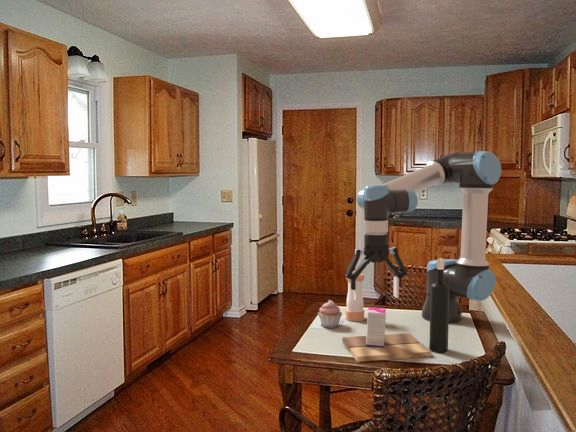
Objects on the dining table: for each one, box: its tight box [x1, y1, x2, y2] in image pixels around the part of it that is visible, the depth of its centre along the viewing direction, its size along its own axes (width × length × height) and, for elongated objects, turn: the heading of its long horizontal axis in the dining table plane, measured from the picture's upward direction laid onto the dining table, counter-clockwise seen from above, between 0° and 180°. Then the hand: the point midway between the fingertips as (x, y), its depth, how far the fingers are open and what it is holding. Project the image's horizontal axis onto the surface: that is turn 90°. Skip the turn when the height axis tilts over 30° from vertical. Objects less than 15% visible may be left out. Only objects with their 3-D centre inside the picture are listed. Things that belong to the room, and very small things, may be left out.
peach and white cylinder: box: [345, 269, 365, 322], centre depth 202 cm, size 7×7×19 cm
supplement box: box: [366, 306, 387, 347], centre depth 167 cm, size 6×6×12 cm
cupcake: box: [317, 299, 343, 329], centre depth 193 cm, size 9×9×10 cm
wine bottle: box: [428, 257, 449, 354], centre depth 166 cm, size 6×6×30 cm
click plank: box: [341, 332, 420, 353], centre depth 172 cm, size 24×8×2 cm, turn 100°
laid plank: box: [349, 343, 432, 363], centre depth 163 cm, size 24×8×2 cm, turn 100°
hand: (376, 298), depth 167 cm, fingers open, 13 cm apart
